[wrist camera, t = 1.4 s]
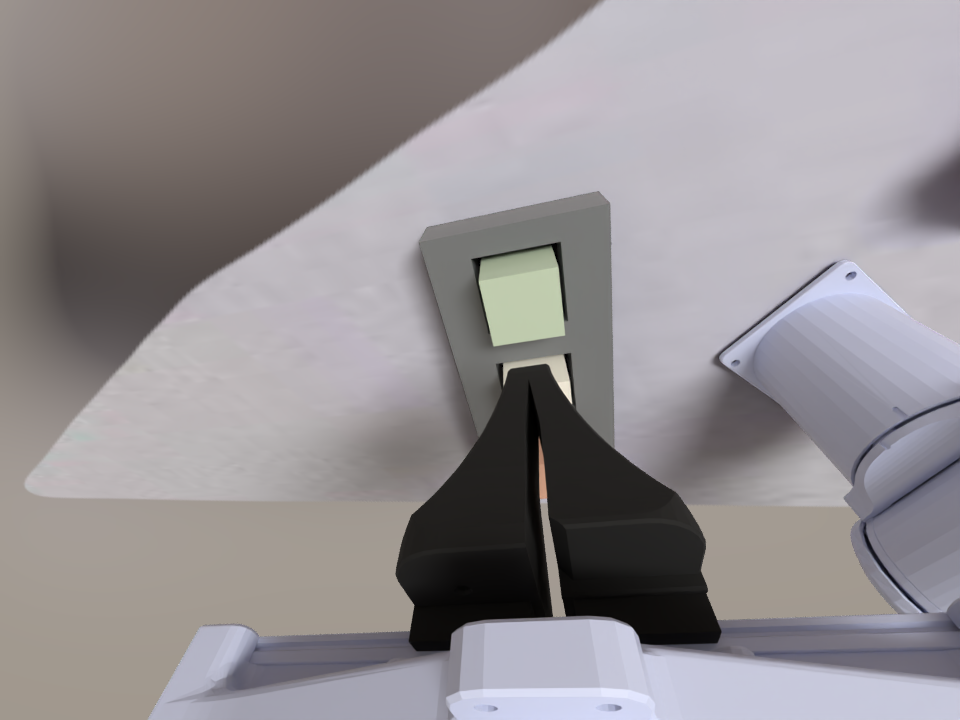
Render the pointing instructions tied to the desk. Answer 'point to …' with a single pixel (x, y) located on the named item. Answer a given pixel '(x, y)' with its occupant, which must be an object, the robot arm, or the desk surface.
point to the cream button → (556, 367)
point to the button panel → (583, 289)
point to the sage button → (522, 295)
